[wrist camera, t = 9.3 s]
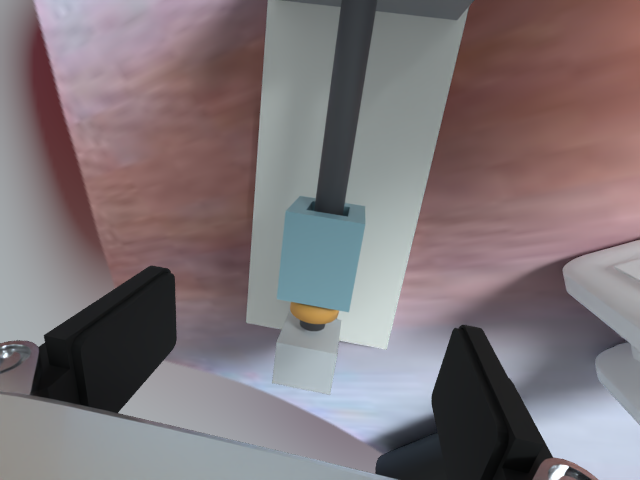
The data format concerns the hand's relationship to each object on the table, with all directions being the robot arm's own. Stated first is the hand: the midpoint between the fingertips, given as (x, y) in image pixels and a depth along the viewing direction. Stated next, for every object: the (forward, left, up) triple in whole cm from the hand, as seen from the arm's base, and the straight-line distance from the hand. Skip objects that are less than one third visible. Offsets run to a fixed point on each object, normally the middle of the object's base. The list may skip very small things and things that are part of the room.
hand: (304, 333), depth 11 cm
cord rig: (-4, 0, -16) cm, 16 cm away
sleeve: (0, 0, -11) cm, 11 cm away
